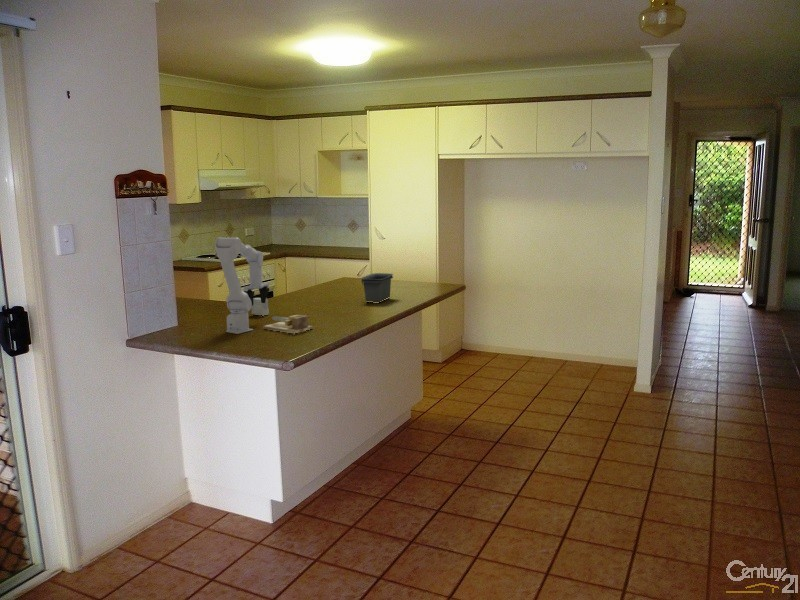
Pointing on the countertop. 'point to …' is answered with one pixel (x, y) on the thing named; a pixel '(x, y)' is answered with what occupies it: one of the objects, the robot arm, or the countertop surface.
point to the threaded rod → (280, 318)
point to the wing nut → (290, 321)
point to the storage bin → (377, 286)
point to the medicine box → (260, 307)
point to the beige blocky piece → (297, 325)
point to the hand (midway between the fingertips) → (257, 304)
